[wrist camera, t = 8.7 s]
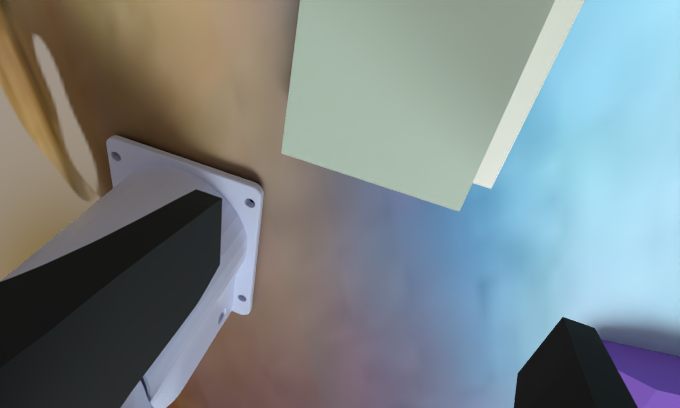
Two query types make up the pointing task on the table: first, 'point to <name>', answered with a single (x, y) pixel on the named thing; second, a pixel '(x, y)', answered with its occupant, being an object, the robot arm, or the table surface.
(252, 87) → the table surface
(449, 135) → the housing
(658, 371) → the bracket
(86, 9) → the table surface
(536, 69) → the stub plate
